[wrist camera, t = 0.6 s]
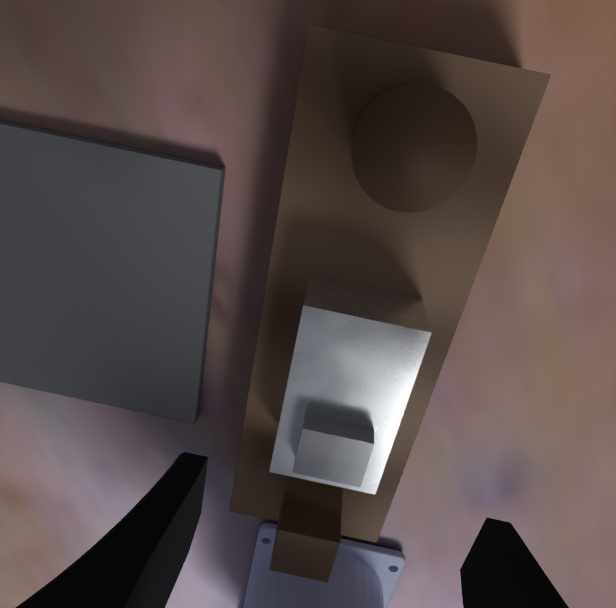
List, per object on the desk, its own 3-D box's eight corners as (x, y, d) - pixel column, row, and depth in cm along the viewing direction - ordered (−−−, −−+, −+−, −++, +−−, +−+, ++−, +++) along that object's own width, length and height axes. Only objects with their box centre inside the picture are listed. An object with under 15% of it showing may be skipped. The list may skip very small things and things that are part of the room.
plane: (375, 500, 25) (378, 606, 20) (241, 471, 25) (211, 570, 20) (523, 74, 16) (597, 74, 11) (315, 31, 16) (295, 11, 11)
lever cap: (373, 447, 20) (375, 512, 17) (279, 427, 20) (265, 488, 17) (422, 298, 17) (435, 346, 14) (310, 274, 17) (300, 317, 14)
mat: (198, 415, 23) (194, 423, 23) (-42, 363, 23) (-52, 370, 23) (225, 167, 18) (221, 170, 18) (-85, 101, 18) (-99, 103, 18)
